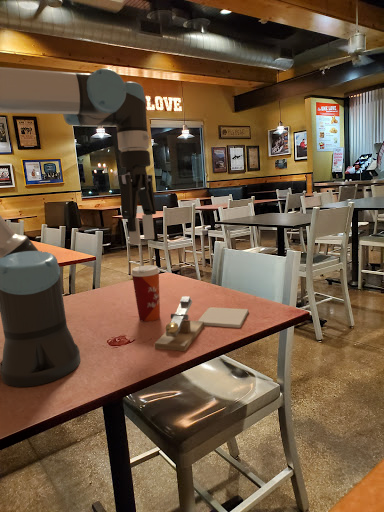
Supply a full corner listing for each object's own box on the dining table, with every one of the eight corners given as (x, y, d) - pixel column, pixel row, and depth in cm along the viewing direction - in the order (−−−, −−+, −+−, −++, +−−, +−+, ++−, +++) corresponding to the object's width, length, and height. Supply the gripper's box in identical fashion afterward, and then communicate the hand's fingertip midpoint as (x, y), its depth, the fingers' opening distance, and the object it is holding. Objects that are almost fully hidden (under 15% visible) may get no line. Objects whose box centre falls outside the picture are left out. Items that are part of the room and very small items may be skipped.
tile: (240, 327, 88) (239, 324, 88) (197, 324, 92) (196, 321, 92) (248, 312, 99) (248, 309, 98) (209, 309, 102) (209, 307, 102)
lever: (179, 338, 79) (178, 331, 78) (163, 336, 81) (161, 330, 80) (195, 302, 89) (194, 296, 88) (180, 302, 90) (178, 296, 90)
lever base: (184, 351, 78) (183, 334, 77) (155, 348, 80) (153, 332, 80) (204, 326, 91) (203, 311, 90) (178, 324, 93) (177, 310, 93)
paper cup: (159, 323, 95) (154, 271, 92) (131, 323, 96) (125, 271, 94) (167, 312, 102) (163, 264, 99) (141, 312, 104) (136, 264, 101)
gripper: (127, 146, 80) (137, 248, 85) (164, 151, 99) (170, 235, 103) (98, 149, 83) (109, 248, 87) (139, 154, 101) (146, 235, 106)
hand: (142, 241), depth 95 cm, fingers open, 7 cm apart
